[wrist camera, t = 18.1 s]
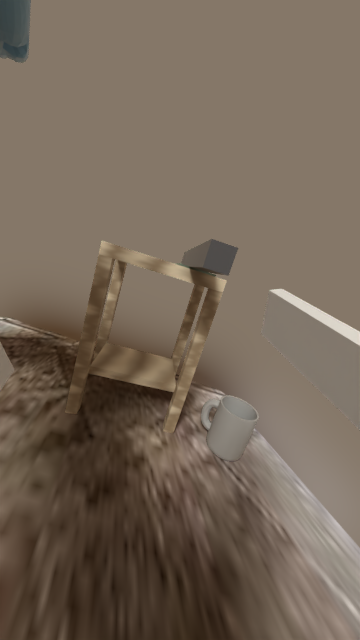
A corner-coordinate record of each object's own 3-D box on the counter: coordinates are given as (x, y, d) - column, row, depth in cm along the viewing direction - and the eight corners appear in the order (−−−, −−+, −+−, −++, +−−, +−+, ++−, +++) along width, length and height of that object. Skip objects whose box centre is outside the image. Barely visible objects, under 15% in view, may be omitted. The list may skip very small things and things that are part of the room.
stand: (64, 412, 38) (102, 238, 32) (92, 369, 54) (121, 247, 47) (173, 433, 41) (227, 278, 35) (169, 387, 57) (206, 274, 50)
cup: (234, 470, 37) (253, 427, 35) (187, 435, 42) (201, 395, 40) (245, 448, 43) (262, 410, 41) (203, 419, 48) (216, 384, 46)
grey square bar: (202, 267, 23) (211, 238, 23) (180, 265, 48) (184, 252, 48) (228, 275, 24) (238, 248, 23) (193, 269, 49) (197, 256, 48)
